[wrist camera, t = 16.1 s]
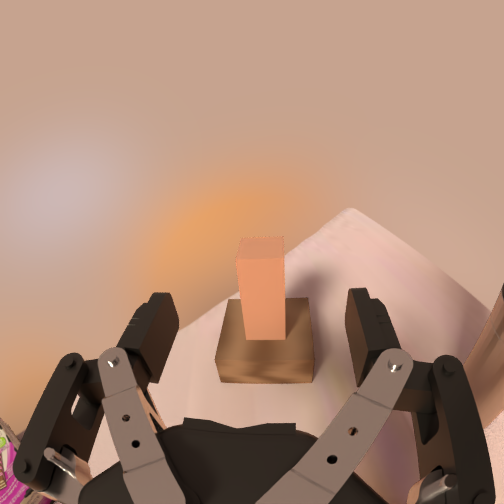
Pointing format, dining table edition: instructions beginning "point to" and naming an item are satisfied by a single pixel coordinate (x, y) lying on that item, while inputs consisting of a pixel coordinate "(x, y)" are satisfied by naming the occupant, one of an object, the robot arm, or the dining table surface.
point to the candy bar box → (3, 480)
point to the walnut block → (266, 348)
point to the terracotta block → (262, 287)
